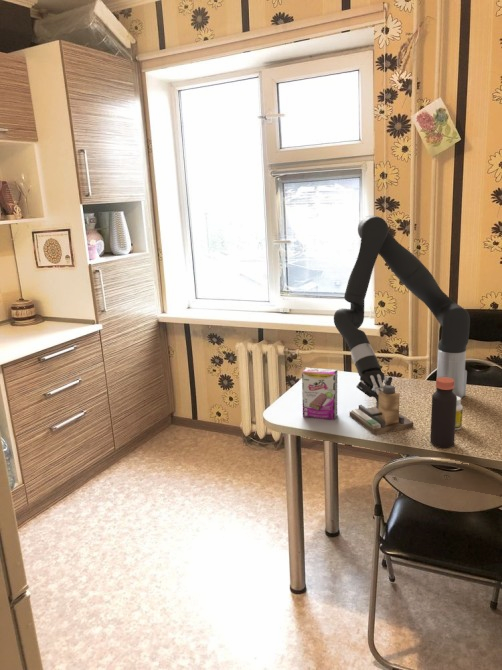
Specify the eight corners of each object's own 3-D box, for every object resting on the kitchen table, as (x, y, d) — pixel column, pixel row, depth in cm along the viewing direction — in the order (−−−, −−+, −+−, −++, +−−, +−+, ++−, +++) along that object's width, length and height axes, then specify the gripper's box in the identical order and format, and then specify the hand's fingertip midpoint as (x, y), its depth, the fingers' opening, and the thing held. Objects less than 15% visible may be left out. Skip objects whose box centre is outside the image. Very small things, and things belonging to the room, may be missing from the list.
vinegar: (457, 448, 161) (461, 383, 156) (434, 448, 161) (437, 384, 156) (449, 437, 168) (453, 375, 162) (427, 438, 168) (429, 376, 163)
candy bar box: (302, 417, 187) (301, 371, 183) (305, 411, 192) (304, 366, 187) (335, 420, 184) (334, 373, 179) (337, 414, 188) (337, 368, 184)
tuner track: (385, 408, 191) (386, 399, 190) (413, 426, 176) (413, 416, 175) (349, 415, 187) (349, 406, 186) (374, 434, 172) (374, 424, 171)
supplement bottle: (463, 430, 172) (464, 401, 169) (444, 430, 173) (446, 400, 170) (460, 423, 177) (461, 394, 174) (442, 422, 178) (443, 394, 175)
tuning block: (391, 417, 179) (392, 384, 176) (398, 422, 176) (399, 388, 173) (367, 422, 177) (367, 388, 174) (374, 427, 173) (374, 392, 170)
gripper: (351, 357, 181) (370, 405, 173) (386, 351, 185) (407, 398, 177) (343, 368, 187) (361, 415, 179) (378, 362, 191) (397, 408, 183)
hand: (384, 406), depth 178 cm, fingers closed
